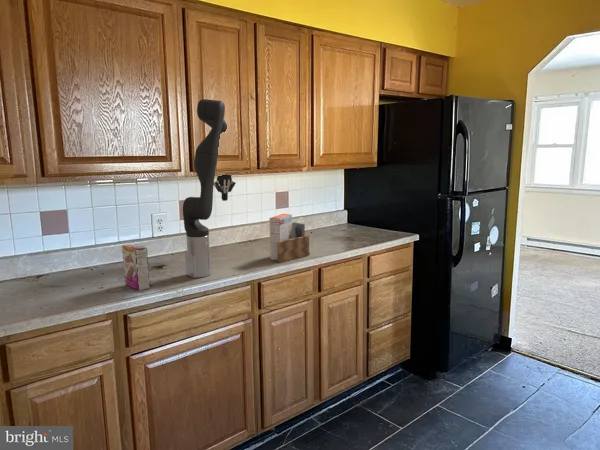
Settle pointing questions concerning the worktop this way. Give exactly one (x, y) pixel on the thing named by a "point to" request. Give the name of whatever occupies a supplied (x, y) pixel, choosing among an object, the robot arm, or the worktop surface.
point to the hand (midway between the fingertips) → (224, 200)
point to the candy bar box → (136, 266)
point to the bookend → (298, 230)
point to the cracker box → (279, 232)
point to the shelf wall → (293, 248)
